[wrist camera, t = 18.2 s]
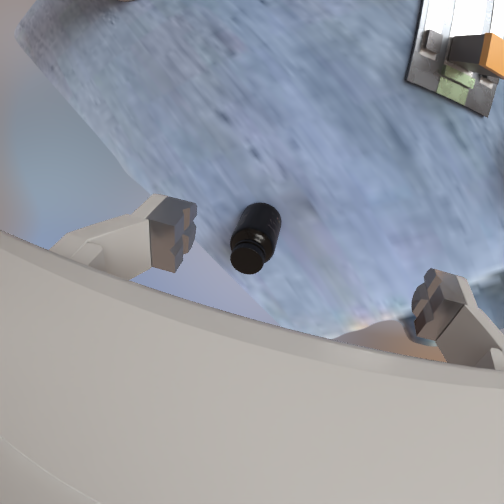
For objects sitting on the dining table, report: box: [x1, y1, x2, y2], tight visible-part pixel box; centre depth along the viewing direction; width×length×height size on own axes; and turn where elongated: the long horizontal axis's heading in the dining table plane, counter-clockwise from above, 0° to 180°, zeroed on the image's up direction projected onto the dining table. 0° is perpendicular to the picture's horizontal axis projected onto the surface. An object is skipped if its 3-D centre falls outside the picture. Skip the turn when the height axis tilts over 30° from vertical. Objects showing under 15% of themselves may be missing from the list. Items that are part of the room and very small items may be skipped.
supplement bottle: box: [230, 203, 281, 274], centre depth 49 cm, size 7×7×12 cm
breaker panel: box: [405, 0, 504, 118], centre depth 24 cm, size 26×14×3 cm, turn 172°
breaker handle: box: [448, 33, 504, 79], centre depth 23 cm, size 4×4×12 cm
